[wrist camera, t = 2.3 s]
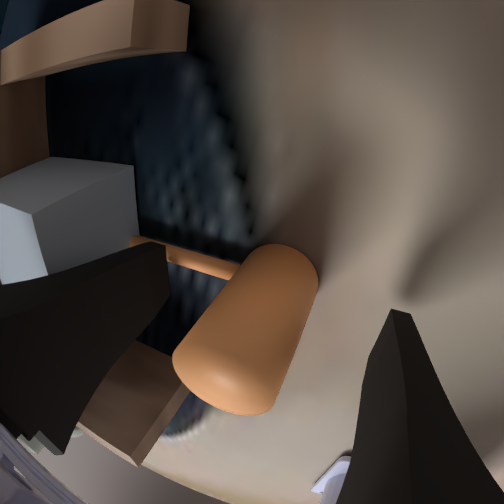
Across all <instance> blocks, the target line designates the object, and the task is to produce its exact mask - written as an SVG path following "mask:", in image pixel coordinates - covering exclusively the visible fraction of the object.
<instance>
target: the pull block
mask: <svg viewBox="0 0 504 504" xmlns="http://www.w3.org/2000/svg"><path fill="white" fill-rule="evenodd" d="M150 241H152V242H156V243H159V244H162V245H166V255H167V261H169V262H172V263H175V264H178V265H181V266H184V267H188V268H191V269H194V270H197V271H200V272H203V273H207V274H210V275H213V276H216V277H219V278H223V279H226V280H229V281H228V282H227V284H226V285H225V286H224V288H223V289H222V290H221V291H220V293H219V294H218V295H217V296H216V298H215V299H214V300H213V302H212V303H211V304H210V305H209V307H208V308H207V309H206V311H205V312H204V313H203V314H202V316H201V317H200V318H199V320H198V321H197V322H196V323H195V325H194V326H193V327H192V329H191V330H190V331H189V332H188V334H187V335H186V336H185V338H184V339H183V340H182V341H181V343H180V344H179V345H178V347H177V348H176V349H175V351H174V353H173V356H172V362H173V366H174V369H175V371H176V373H177V375H178V377H179V378H180V379H181V381H182V382H183V383H184V384H185V385H186V387H187V388H188V389H189V390H191V391H192V392H193V393H194V394H195V395H197V396H198V397H199V398H201V399H202V400H204V401H205V402H207V403H209V404H211V405H213V406H215V407H217V408H219V409H221V410H224V411H227V412H230V413H234V414H239V415H259V414H263V413H265V412H267V411H269V410H270V409H271V408H272V407H273V405H274V403H275V400H276V398H277V396H278V393H279V391H280V388H281V386H282V383H283V381H284V379H285V376H286V374H287V371H288V369H289V366H290V364H291V361H292V358H293V356H294V353H295V351H296V348H297V346H298V343H299V340H300V338H301V335H302V332H303V330H304V327H305V324H306V321H307V319H308V316H309V313H310V310H311V308H312V305H313V302H314V299H315V296H316V293H317V290H318V276H317V272H316V270H315V268H314V266H313V265H312V263H311V262H310V261H309V259H308V258H307V257H306V256H305V255H303V254H302V253H301V252H299V251H298V250H296V249H294V248H292V247H289V246H286V245H281V244H267V245H263V246H260V247H258V248H256V249H255V250H253V251H252V252H251V253H250V254H249V255H248V257H247V258H246V259H245V261H244V262H243V263H242V264H241V265H239V264H235V263H232V262H228V261H225V260H221V259H218V258H214V257H211V256H207V255H204V254H200V253H197V252H193V251H190V250H187V249H183V248H180V247H176V246H173V245H169V244H166V243H163V242H159V241H156V240H152V239H149V238H146V237H142V236H140V235H139V226H138V217H137V206H136V194H135V181H134V166H132V165H124V164H116V163H108V162H100V161H91V160H81V159H71V158H61V157H49V158H47V159H44V160H42V161H39V162H37V163H34V164H32V165H29V166H27V167H25V168H22V169H20V170H18V171H15V172H13V173H11V174H9V175H7V176H4V177H2V178H0V280H1V283H2V285H3V284H9V283H14V282H20V281H25V280H30V279H35V278H39V277H43V276H47V275H50V274H54V273H57V272H61V271H64V270H67V269H70V268H73V267H76V266H79V265H82V264H84V263H87V262H90V261H93V260H96V259H99V258H101V257H104V256H107V255H110V254H112V253H115V252H118V251H121V250H124V249H127V248H129V247H132V246H135V245H139V244H142V243H146V242H150Z"/></svg>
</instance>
